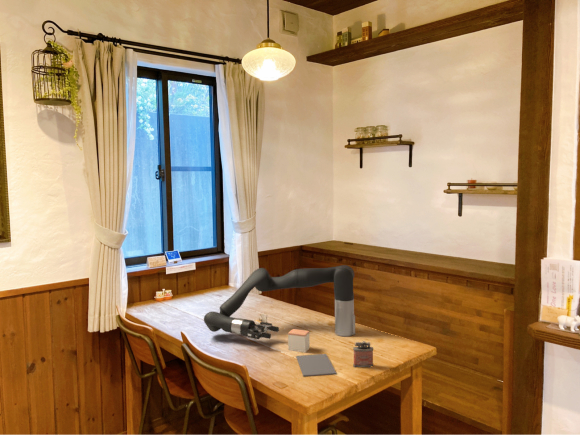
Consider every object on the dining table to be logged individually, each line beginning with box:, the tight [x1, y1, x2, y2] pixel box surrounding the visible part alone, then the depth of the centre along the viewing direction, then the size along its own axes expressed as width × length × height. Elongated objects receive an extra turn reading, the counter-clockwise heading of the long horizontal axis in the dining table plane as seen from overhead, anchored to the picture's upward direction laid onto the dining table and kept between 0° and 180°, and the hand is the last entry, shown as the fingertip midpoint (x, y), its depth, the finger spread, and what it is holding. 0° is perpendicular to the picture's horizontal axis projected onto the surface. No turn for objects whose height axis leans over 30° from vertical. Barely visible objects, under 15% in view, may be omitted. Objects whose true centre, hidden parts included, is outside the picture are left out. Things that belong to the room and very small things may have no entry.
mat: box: [295, 353, 337, 377], centre depth 181 cm, size 13×19×1 cm
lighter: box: [352, 340, 374, 368], centre depth 179 cm, size 8×3×10 cm, turn 92°
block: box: [287, 328, 310, 353], centre depth 198 cm, size 8×6×8 cm
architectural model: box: [254, 312, 268, 330], centre depth 228 cm, size 3×7×7 cm, turn 33°
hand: (274, 332), depth 201 cm, fingers open, 8 cm apart
